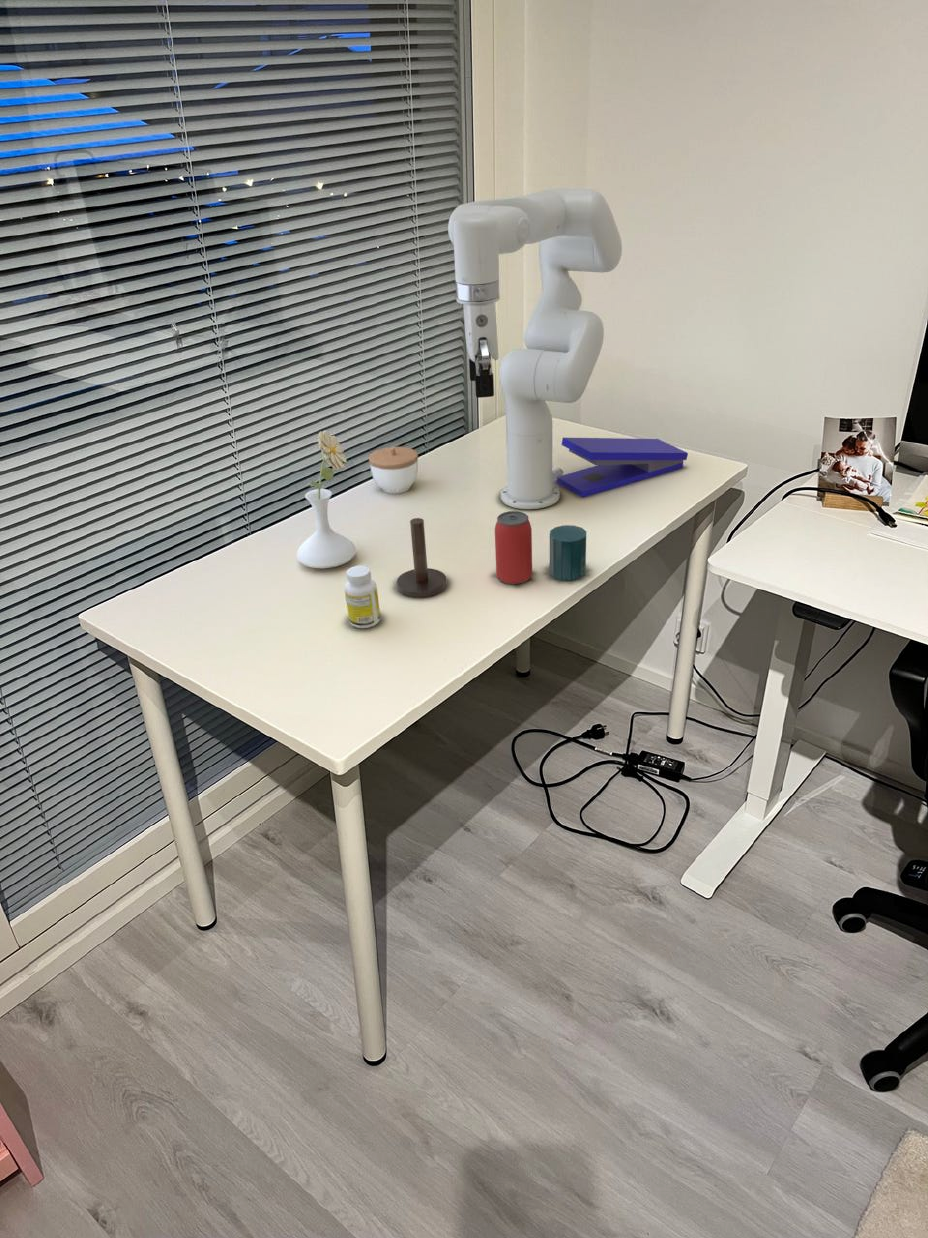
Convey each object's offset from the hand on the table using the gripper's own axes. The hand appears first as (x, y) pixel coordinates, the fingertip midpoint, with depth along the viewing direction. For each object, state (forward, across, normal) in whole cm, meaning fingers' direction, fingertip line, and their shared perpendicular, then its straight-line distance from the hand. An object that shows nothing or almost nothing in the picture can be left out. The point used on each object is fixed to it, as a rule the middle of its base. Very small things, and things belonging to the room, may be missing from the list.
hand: (481, 388), depth 174 cm
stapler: (+31, +25, -33) cm, 51 cm away
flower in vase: (+31, -3, +31) cm, 44 cm away
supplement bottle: (+31, -28, +25) cm, 48 cm away
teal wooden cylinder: (+30, -17, -13) cm, 37 cm away
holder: (+30, -17, +14) cm, 37 cm away
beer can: (+31, -17, -3) cm, 35 cm away
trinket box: (+31, +28, +17) cm, 45 cm away
